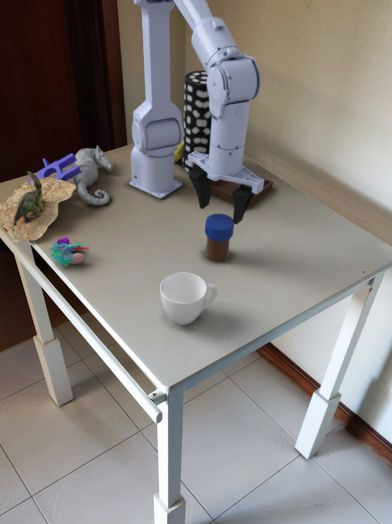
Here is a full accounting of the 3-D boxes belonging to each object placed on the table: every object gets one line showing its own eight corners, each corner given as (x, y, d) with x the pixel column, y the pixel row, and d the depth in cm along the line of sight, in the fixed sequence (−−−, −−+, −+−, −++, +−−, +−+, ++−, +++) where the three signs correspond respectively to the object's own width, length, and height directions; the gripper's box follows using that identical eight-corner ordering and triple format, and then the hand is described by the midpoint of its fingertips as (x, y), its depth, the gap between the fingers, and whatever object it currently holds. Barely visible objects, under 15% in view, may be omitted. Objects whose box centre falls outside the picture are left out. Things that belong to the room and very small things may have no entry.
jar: (201, 255, 97) (203, 223, 92) (214, 245, 100) (217, 213, 94) (219, 265, 96) (222, 233, 90) (232, 254, 98) (236, 222, 93)
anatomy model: (90, 225, 95) (53, 222, 94) (86, 252, 89) (47, 248, 88) (90, 247, 98) (55, 244, 97) (86, 273, 93) (49, 270, 92)
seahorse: (130, 196, 107) (107, 140, 117) (77, 193, 102) (57, 135, 112) (124, 214, 111) (103, 159, 121) (73, 212, 106) (55, 155, 116)
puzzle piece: (85, 181, 106) (81, 176, 104) (37, 208, 107) (33, 204, 106) (72, 148, 109) (68, 143, 108) (26, 175, 111) (22, 170, 109)
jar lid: (199, 234, 94) (200, 222, 92) (215, 221, 96) (216, 210, 95) (222, 245, 92) (223, 233, 90) (238, 232, 94) (239, 220, 93)
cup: (154, 307, 87) (153, 277, 82) (206, 294, 90) (208, 265, 85) (169, 337, 83) (169, 308, 77) (223, 323, 85) (227, 294, 80)
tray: (205, 191, 113) (205, 184, 112) (232, 172, 119) (233, 165, 118) (246, 209, 109) (247, 202, 108) (272, 189, 115) (273, 181, 114)
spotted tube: (200, 153, 125) (205, 67, 110) (223, 167, 121) (231, 79, 106) (175, 163, 121) (176, 76, 106) (198, 177, 117) (203, 88, 102)
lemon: (172, 143, 125) (181, 156, 127) (162, 155, 119) (172, 168, 121) (184, 133, 122) (193, 147, 124) (174, 146, 117) (184, 159, 119)
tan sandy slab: (-37, 208, 98) (-12, 236, 104) (5, 220, 90) (29, 250, 96) (23, 151, 104) (43, 181, 110) (67, 157, 97) (86, 189, 102)
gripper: (177, 135, 81) (176, 208, 91) (251, 165, 76) (241, 239, 86) (203, 121, 85) (199, 193, 95) (275, 149, 80) (263, 221, 90)
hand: (220, 213), depth 91 cm, fingers open, 7 cm apart
